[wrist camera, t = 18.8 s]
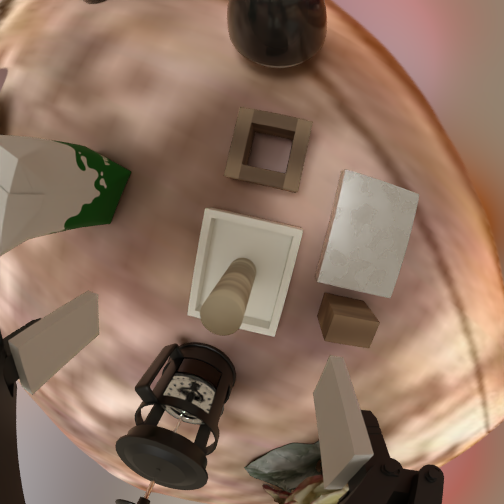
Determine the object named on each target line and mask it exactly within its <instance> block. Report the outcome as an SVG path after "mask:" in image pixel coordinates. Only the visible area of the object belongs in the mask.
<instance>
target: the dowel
mask: <svg viewBox="0 0 504 504" xmlns="http://www.w3.org/2000/svg"><path fill="white" fill-rule="evenodd" d="M255 276H256V267H255V265H254V263H253V262H252V261H251V260H249V259H247V258H237V259H235V260H234V261H233V262H232V263H231V264H230V266H229V267H228V269H227V270H226V272H225V273H224V274H223V276H222V277H221V279H220V280H219V282H218V283H217V285H216V286H215V287H214V289H213V290H212V292H211V293H210V295H209V296H208V298H207V299H206V300H205V302H204V303H203V305H202V307H201V310H200V318H201V321H202V323H203V325H204V326H205V328H206V329H207V330H209V331H210V332H212V333H214V334H217V335H222V336H225V335H230V334H233V333H234V332H236V331H237V330H238V329H239V328H240V326H241V324H242V321H243V318H244V314H245V311H246V307H247V304H248V300H249V297H250V293H251V290H252V286H253V283H254V280H255Z"/></svg>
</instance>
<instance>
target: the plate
mask: <svg viewBox="0 0 504 504" xmlns="http://www.w3.org/2000/svg"><path fill="white" fill-rule="evenodd" d="M418 199H419V194H417V193H414V192H412V191H409V190H406V189H404V188H401V187H398V186H395V185H392V184H390V183H387V182H384V181H381V180H378V179H375V178H372V177H369V176H366V175H363V174H359V173H356V172H353V171H350V170H346V169H345V170H342V171H341V174H340V179H339V183H338V188H337V192H336V196H335V201H334V205H333V209H332V213H331V217H330V221H329V225H328V229H327V233H326V237H325V241H324V245H323V248H322V252H321V256H320V259H319V263H318V266H317V270H316V274H315V278H316V281H317V282H320V283H324V284H328V285H333V286H337V287H342V288H346V289H351V290H355V291H359V292H364V293H368V294H373V295H378V296H382V297H387V298H391V295H392V292H393V290H394V287H395V284H396V281H397V278H398V275H399V271H400V268H401V265H402V262H403V258H404V255H405V252H406V248H407V244H408V241H409V237H410V233H411V229H412V225H413V221H414V217H415V213H416V208H417V204H418Z"/></svg>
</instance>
